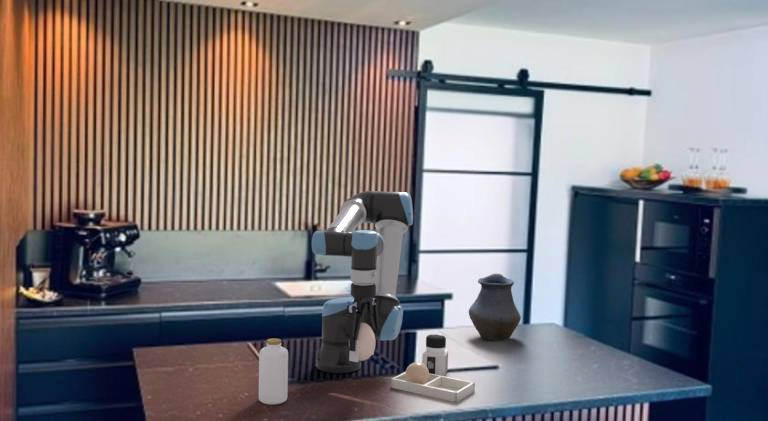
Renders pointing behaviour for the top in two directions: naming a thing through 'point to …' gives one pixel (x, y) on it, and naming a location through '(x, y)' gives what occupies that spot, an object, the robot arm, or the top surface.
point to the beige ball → (417, 373)
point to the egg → (365, 342)
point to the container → (436, 354)
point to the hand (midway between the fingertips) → (361, 357)
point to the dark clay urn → (495, 308)
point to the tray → (436, 387)
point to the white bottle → (273, 373)
